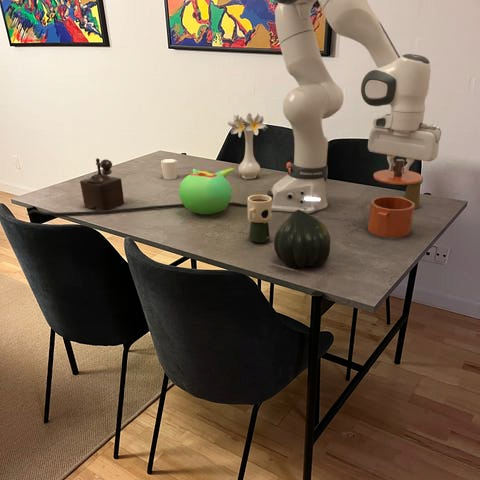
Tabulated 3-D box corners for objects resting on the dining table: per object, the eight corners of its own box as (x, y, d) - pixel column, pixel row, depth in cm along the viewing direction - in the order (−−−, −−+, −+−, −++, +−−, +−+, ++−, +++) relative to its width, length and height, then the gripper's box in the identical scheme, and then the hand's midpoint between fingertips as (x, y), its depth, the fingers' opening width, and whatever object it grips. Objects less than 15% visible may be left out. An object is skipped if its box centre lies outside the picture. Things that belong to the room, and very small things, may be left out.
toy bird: (172, 217, 163) (168, 173, 155) (193, 201, 176) (191, 160, 169) (222, 223, 158) (220, 178, 150) (239, 206, 171) (239, 164, 163)
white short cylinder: (177, 179, 200) (176, 162, 196) (160, 180, 200) (159, 162, 196) (179, 175, 206) (178, 158, 202) (163, 175, 206) (161, 158, 202)
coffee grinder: (82, 207, 173) (72, 156, 163) (104, 198, 180) (96, 149, 171) (113, 215, 165) (105, 162, 156) (135, 206, 173) (129, 154, 164)
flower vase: (241, 170, 212) (241, 108, 198) (274, 177, 201) (275, 113, 188) (220, 176, 204) (218, 112, 190) (253, 184, 193) (253, 118, 179)
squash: (329, 261, 120) (332, 204, 122) (269, 260, 123) (273, 204, 125) (328, 276, 134) (331, 224, 136) (275, 274, 136) (278, 224, 139)
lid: (365, 182, 140) (368, 162, 137) (382, 171, 150) (385, 152, 147) (413, 189, 134) (417, 168, 131) (427, 177, 143) (431, 157, 140)
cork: (420, 209, 167) (426, 177, 161) (401, 208, 168) (407, 176, 162) (418, 203, 172) (424, 172, 166) (400, 202, 173) (405, 171, 167)
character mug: (260, 249, 140) (260, 205, 133) (239, 244, 144) (239, 201, 137) (278, 236, 148) (279, 195, 141) (258, 232, 151) (258, 191, 144)
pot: (358, 236, 147) (361, 207, 143) (379, 218, 160) (383, 191, 155) (398, 245, 141) (403, 215, 136) (417, 226, 154) (422, 198, 149)
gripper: (447, 124, 129) (437, 176, 136) (379, 116, 141) (373, 164, 149) (437, 127, 125) (427, 180, 133) (368, 119, 137) (362, 168, 145)
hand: (398, 172), depth 141 cm, fingers closed on lid, 2 cm apart
